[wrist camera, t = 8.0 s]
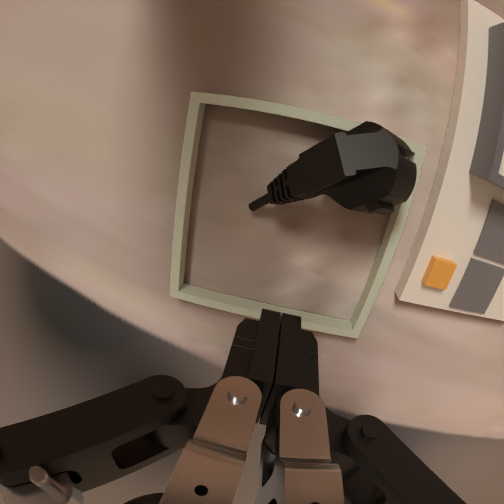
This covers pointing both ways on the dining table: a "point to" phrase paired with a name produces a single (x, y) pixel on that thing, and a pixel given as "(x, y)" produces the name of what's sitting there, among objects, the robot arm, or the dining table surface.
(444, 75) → the dining table surface
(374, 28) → the dining table surface
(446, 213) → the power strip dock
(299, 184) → the power plug
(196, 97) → the pick tray
